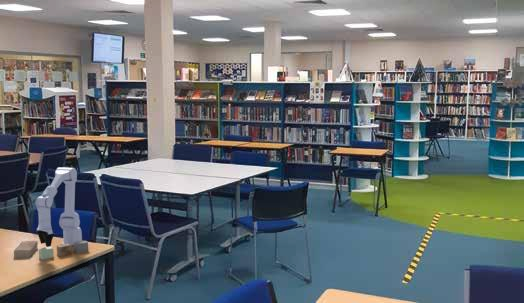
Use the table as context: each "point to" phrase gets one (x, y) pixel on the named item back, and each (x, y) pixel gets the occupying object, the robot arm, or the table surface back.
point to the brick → (25, 249)
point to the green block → (46, 253)
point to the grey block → (81, 246)
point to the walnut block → (64, 249)
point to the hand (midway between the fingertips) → (45, 244)
